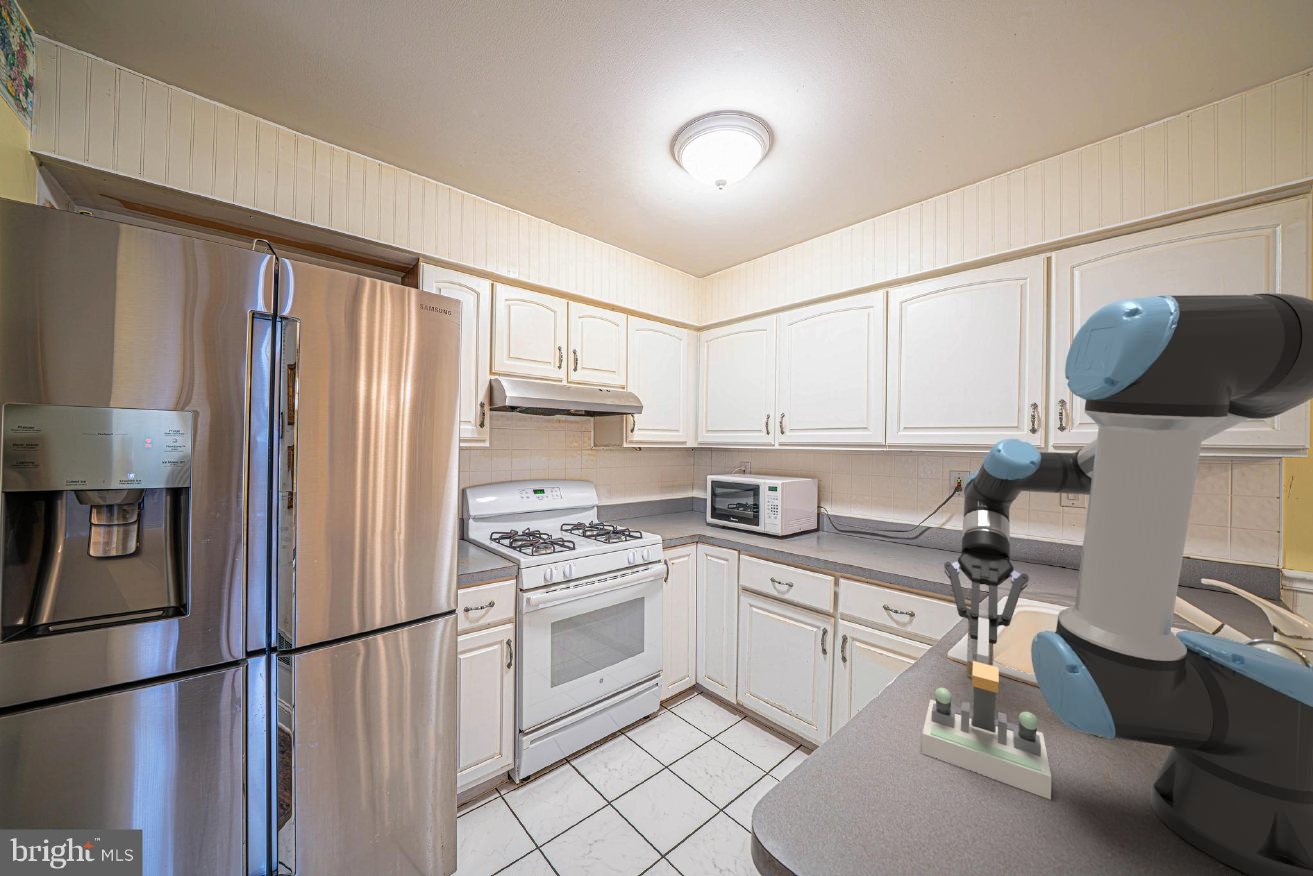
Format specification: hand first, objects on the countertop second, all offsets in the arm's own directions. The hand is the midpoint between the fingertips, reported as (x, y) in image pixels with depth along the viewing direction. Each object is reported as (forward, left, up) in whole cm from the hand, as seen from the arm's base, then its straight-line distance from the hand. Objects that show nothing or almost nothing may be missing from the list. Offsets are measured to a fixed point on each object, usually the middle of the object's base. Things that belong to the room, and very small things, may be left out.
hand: (982, 658), depth 77 cm
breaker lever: (-4, +5, -7) cm, 10 cm away
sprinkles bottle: (+13, -18, -12) cm, 25 cm away
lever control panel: (-4, +5, -12) cm, 13 cm away
